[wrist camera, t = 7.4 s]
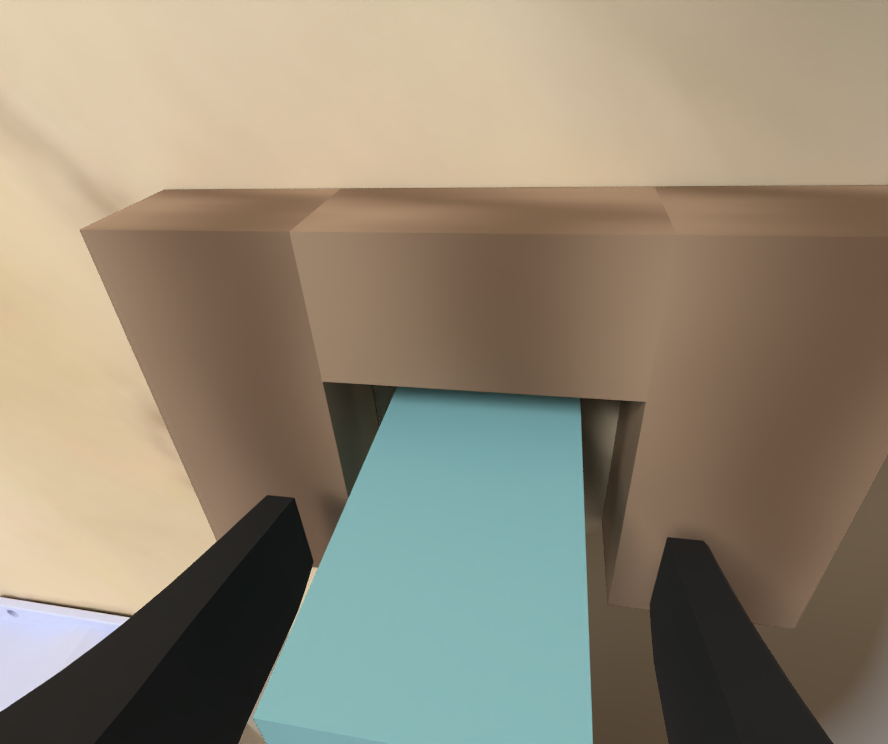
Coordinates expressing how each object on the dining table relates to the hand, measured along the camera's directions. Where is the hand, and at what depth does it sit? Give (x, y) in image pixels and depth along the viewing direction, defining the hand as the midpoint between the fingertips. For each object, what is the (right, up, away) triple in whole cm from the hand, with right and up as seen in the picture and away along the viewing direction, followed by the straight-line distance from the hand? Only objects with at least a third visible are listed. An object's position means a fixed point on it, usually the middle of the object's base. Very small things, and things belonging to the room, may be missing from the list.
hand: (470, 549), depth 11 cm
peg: (+1, +2, +3) cm, 4 cm away
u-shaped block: (+1, +3, +2) cm, 4 cm away
